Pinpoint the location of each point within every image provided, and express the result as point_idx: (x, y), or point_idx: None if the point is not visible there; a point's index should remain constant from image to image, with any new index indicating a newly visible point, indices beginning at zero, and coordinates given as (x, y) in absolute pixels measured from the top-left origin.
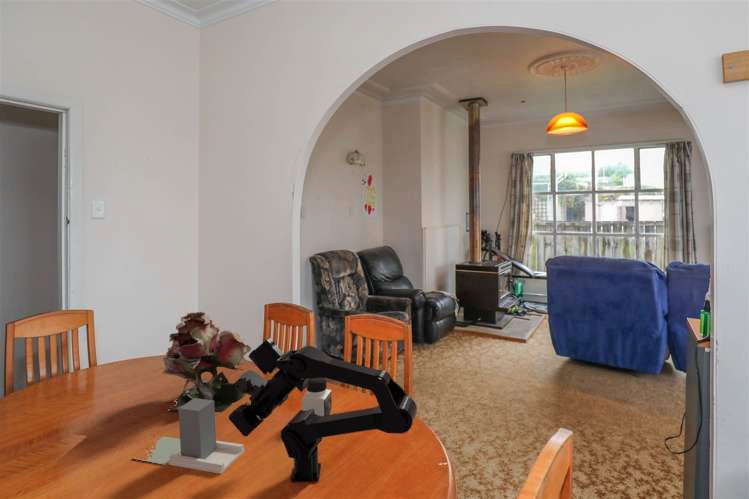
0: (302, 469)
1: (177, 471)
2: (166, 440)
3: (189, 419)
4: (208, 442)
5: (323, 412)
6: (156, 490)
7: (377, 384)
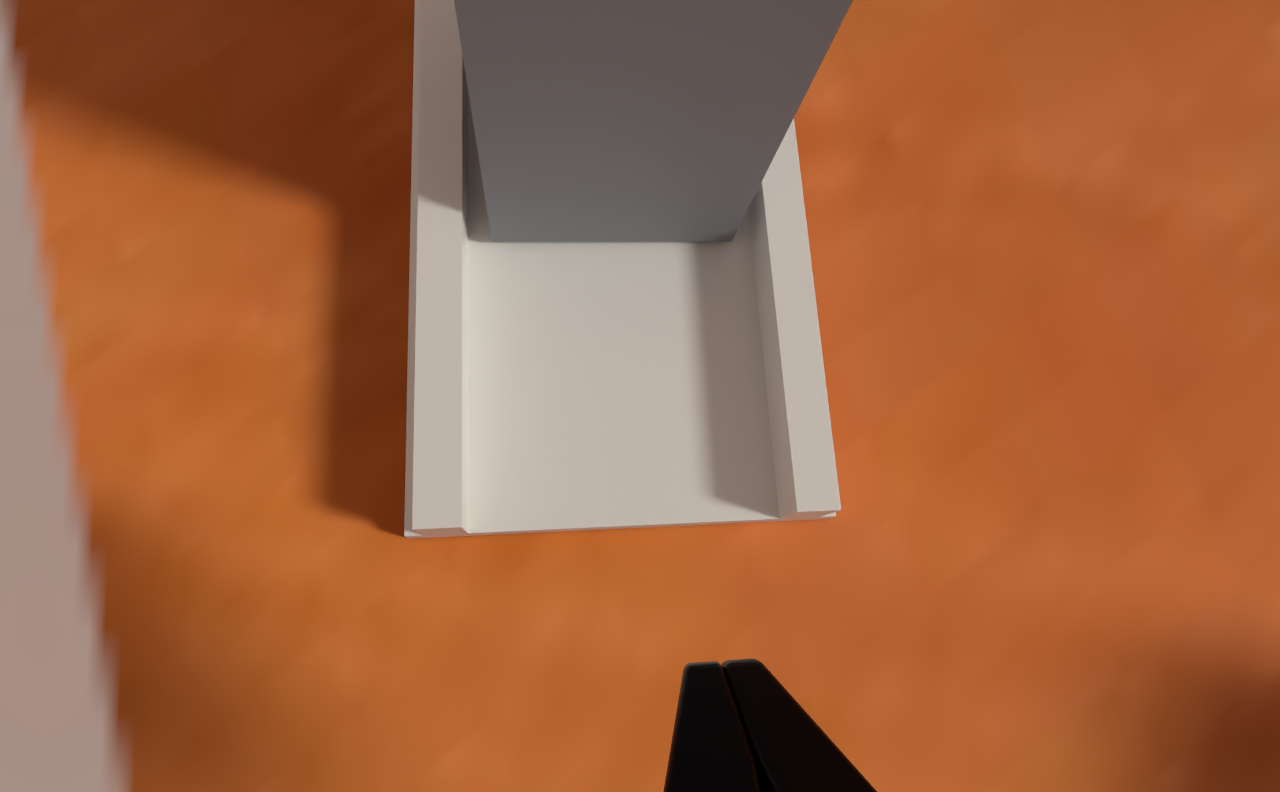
0: None
1: (348, 119)
2: None
3: None
4: (624, 171)
5: None
6: (52, 129)
7: None
